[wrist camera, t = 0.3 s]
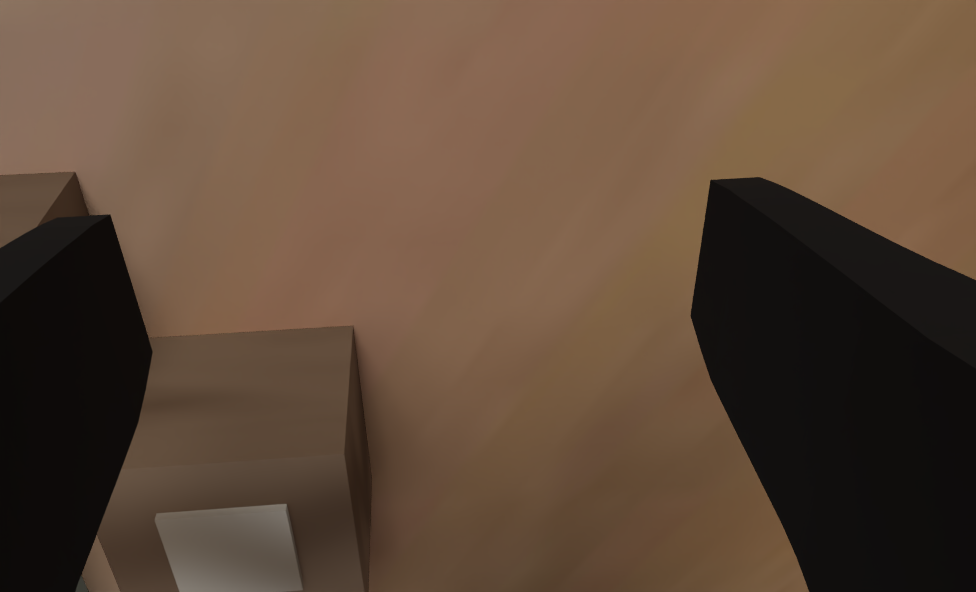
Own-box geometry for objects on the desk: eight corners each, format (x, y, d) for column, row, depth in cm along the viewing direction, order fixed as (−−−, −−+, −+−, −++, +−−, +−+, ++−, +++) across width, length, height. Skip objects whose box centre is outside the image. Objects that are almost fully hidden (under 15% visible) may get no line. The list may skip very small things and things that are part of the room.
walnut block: (371, 475, 27) (367, 620, 22) (177, 489, 26) (135, 640, 22) (353, 323, 23) (343, 460, 19) (129, 336, 23) (68, 479, 19)
